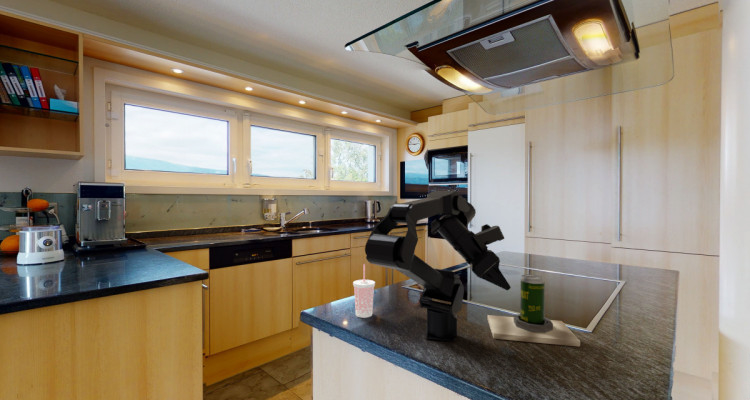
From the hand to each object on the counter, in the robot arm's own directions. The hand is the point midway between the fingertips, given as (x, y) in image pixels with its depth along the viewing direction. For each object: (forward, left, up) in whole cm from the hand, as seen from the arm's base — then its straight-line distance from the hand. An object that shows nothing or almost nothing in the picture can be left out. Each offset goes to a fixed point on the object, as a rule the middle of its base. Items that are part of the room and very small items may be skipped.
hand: (504, 284), depth 78 cm
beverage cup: (-36, +4, -12) cm, 38 cm away
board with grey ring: (+6, +2, -12) cm, 13 cm away
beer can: (+7, +3, -11) cm, 13 cm away
